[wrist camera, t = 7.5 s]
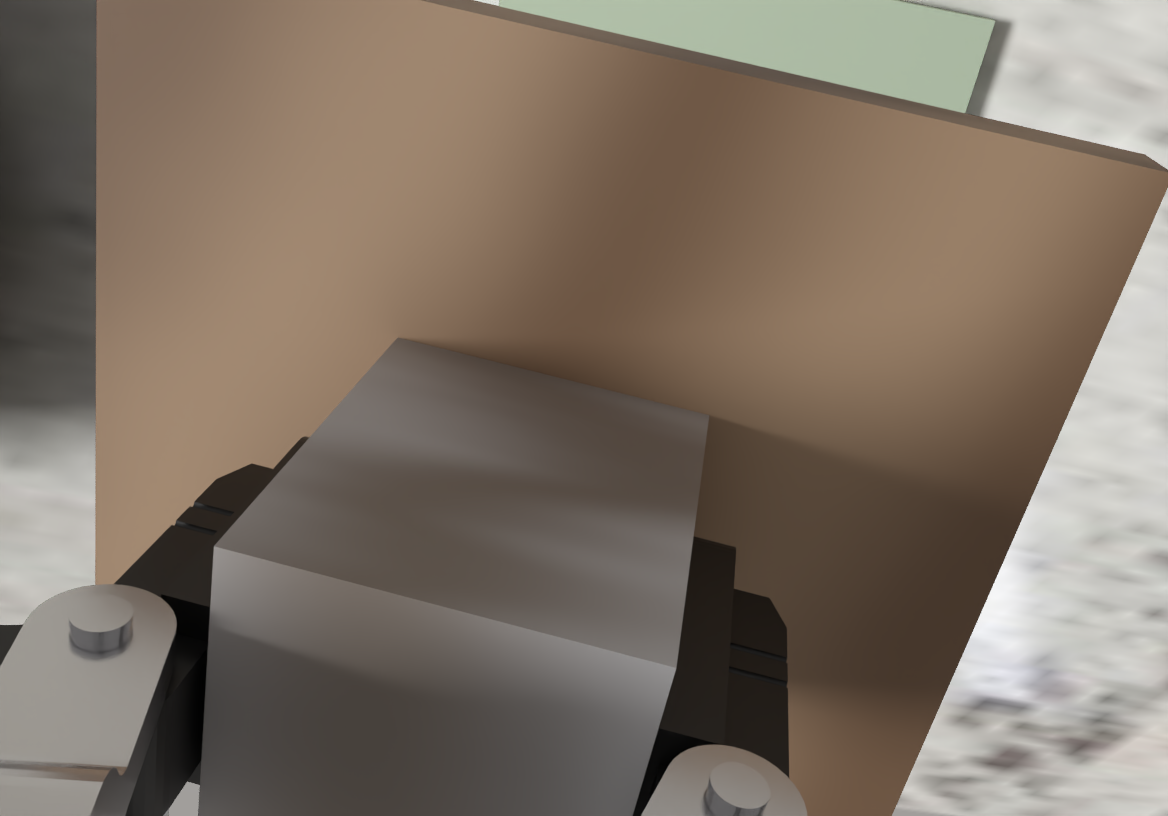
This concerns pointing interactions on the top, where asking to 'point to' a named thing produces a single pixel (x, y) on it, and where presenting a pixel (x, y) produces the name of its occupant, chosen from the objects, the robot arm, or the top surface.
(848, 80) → the mat
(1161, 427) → the top surface
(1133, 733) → the top surface
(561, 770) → the lid
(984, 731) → the top surface
